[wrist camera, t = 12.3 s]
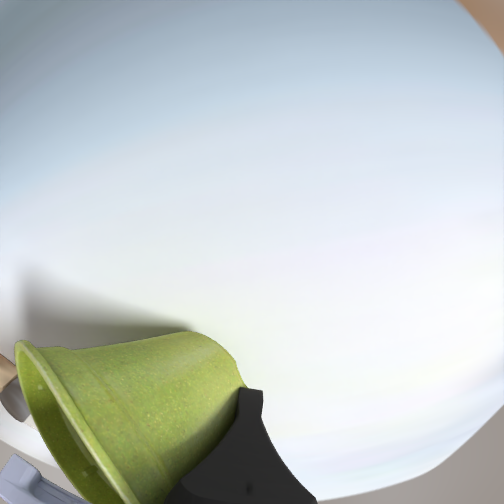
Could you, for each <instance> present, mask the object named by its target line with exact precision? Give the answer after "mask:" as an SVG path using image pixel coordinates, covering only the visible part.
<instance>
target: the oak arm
mask: <svg viewBox="0 0 504 504" xmlns="http://www.w3.org/2000/svg"><path fill="white" fill-rule="evenodd" d="M0 401H1V403H2V404H3V406H4V407H5V409H6V410H7V411H8V412H9V414H10V415H11V416H13V417H14V418H15V419H16V420H18V421H20V422H24V421H25V420H26V419H27V418H28V417H29V415H30V411H29V409H28V406H27V404H26V401H25V399H24V396H23V393H22V390H21V386H20V383H19V379H18V374H17V369H16V366H15V365H14V364H12V363H11V362H10V361H9V360H7V359H6V358H5V357H4V356H2V355H1V354H0Z"/></svg>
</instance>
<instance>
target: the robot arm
mask: <svg viewBox="0 0 504 504" xmlns="http://www.w3.org/2000/svg"><path fill="white" fill-rule="evenodd" d="M262 408H263V391H261V390H255V389H249V388H244V387H240V389H239V394H238V400H237V405H236V411H235V418H234V423H233V424H232V426H231V427H230V429H229V430H228V432H227V433H226V435H225V436H224V437H223V439H222V440H221V441H220V443H219V444H218V445H217V446H216V447H215V448H214V450H213V451H212V452H211V453H210V454H209V455H208V456H207V457H206V458H205V459H204V460H203V461H202V462H201V463H200V464H198V465H197V466H196V467H195V468H194V469H193V470H191V471H190V472H189V473H188V474H186V475H185V476H184V477H182V478H181V479H180V480H179V481H178V482H177V483H176V484H175V486H174V487H173V488H172V489H171V490H170V492H169V493H168V495H167V496H166V498H165V500H164V504H317V501H316V498H315V497H314V496H313V495H312V494H311V493H310V492H309V491H308V490H307V489H306V488H305V487H304V486H303V485H302V484H301V483H300V482H299V481H298V480H297V479H296V478H295V477H294V475H293V474H292V473H291V471H290V470H289V469H288V467H287V466H286V465H285V464H284V462H283V461H282V459H281V458H280V456H279V454H278V453H277V451H276V449H275V448H274V446H273V444H272V442H271V440H270V438H269V436H268V433H267V431H266V429H265V426H264V424H263V421H262V418H261V414H262ZM0 497H1V498H2V499H4V500H5V501H6V502H7V503H8V504H92V503H90V502H88V501H86V500H84V499H82V498H80V497H78V496H76V495H74V494H72V493H70V492H68V491H66V490H64V489H63V488H61V487H59V486H57V485H56V484H54V483H52V482H50V481H49V480H47V479H45V478H44V477H42V475H41V473H40V472H39V471H38V470H37V469H36V468H35V467H34V466H33V465H31V464H30V463H28V462H27V461H25V460H24V459H22V458H21V457H20V456H18V455H17V454H13V455H12V456H11V458H10V459H9V461H8V462H7V464H6V465H5V466H4V468H3V469H2V470H1V472H0Z"/></svg>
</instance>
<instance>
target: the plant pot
mask: <svg viewBox="0 0 504 504" xmlns="http://www.w3.org/2000/svg"><path fill="white" fill-rule="evenodd" d="M14 355H15V364H16V369H17V374H18V379H19V383H20V386H21V390H22V393H23V396H24V399H25V401H26V404H27V406H28V409H29V411H30V414H31V416H32V418H33V420H34V423H35V425H36V427H37V429H38V431H39V433H40V435H41V437H42V438H43V440H44V442H45V444H46V446H47V448H48V449H49V451H50V453H51V454H52V456H53V457H54V459H55V461H56V462H57V464H58V465H59V467H60V468H61V470H62V471H63V472H64V474H65V475H66V477H67V478H68V479H69V481H70V482H71V483H72V485H73V486H74V487H75V489H77V491H78V492H79V493H80V495H81V496H82V497H83V498H84V499H85V500H86V501H88V502H90V503H92V504H164V500H165V498H166V496H167V495H168V493H169V492H170V490H171V489H172V488H173V487H174V486H175V484H176V483H177V482H178V481H179V480H180V479H181V478H182V477H184V476H185V475H186V474H188V473H189V472H190V471H191V470H193V469H194V468H195V467H196V466H197V465H198V464H200V463H201V462H202V461H203V460H204V459H205V458H206V457H207V456H208V455H209V454H210V453H211V452H212V451H213V450H214V448H215V447H216V446H217V445H218V444H219V443H220V441H221V440H222V439H223V437H224V436H225V435H226V433H227V432H228V430H229V429H230V427H231V426H232V424H233V423H234V418H235V411H236V405H237V400H238V394H239V389H240V387H244V388H248V387H247V386H246V385H245V384H244V382H243V380H242V378H241V376H240V374H239V371H238V368H237V365H236V362H235V360H234V358H233V357H232V356H231V355H230V354H229V353H228V352H227V351H226V350H225V349H224V348H223V347H222V346H221V345H220V344H218V343H217V342H216V341H214V340H212V339H211V338H209V337H207V336H205V335H203V334H200V333H197V332H192V331H183V332H176V333H172V334H167V335H162V336H157V337H152V338H147V339H142V340H136V341H131V342H125V343H118V344H112V345H105V346H98V347H91V348H84V349H76V350H69V349H67V348H64V347H59V346H57V347H40V348H35V347H34V346H33V345H32V344H31V343H30V342H28V341H26V340H20V341H17V342H16V343H15V348H14Z"/></svg>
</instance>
